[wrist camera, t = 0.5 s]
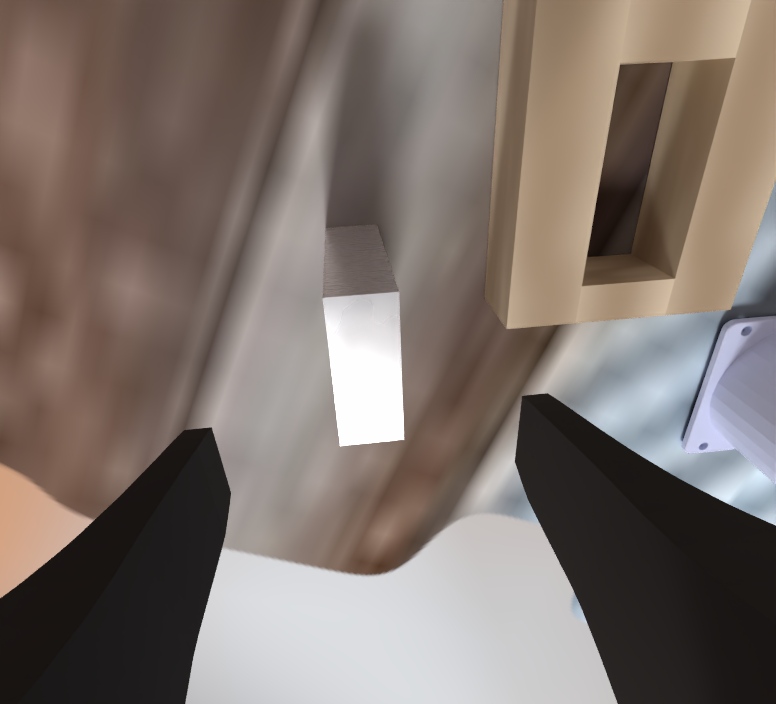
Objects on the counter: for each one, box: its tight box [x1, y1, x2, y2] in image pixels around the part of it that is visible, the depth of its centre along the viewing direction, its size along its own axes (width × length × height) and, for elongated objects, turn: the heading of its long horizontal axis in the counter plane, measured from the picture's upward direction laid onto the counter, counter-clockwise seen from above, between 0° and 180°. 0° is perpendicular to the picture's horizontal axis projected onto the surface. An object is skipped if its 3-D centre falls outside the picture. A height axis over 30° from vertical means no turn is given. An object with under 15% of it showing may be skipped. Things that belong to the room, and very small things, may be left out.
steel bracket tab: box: [323, 224, 404, 446], centre depth 17 cm, size 2×5×7 cm, turn 3°
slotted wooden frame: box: [484, 0, 776, 329], centre depth 15 cm, size 9×20×3 cm, turn 3°
